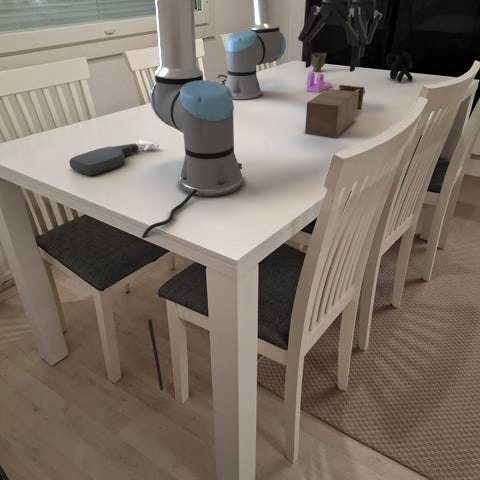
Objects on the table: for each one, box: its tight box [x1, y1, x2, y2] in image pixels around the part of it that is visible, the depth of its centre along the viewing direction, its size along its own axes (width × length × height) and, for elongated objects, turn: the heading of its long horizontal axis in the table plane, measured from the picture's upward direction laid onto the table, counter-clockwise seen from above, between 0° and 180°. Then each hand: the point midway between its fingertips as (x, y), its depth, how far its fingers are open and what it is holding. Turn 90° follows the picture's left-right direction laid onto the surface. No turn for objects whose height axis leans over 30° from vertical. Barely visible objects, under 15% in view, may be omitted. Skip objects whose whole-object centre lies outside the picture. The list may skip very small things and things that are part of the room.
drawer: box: [336, 84, 366, 112], centre depth 155 cm, size 24×9×8 cm, turn 151°
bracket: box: [306, 71, 332, 93], centre depth 188 cm, size 13×6×7 cm, turn 143°
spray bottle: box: [68, 139, 160, 177], centre depth 124 cm, size 3×11×24 cm
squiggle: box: [385, 51, 414, 83], centre depth 198 cm, size 11×10×15 cm
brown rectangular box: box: [304, 88, 357, 139], centre depth 144 cm, size 19×10×10 cm, turn 151°
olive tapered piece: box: [311, 52, 327, 72], centre depth 217 cm, size 8×7×8 cm
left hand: (329, 68), depth 132 cm, fingers open, 13 cm apart
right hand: (356, 66), depth 156 cm, fingers closed
